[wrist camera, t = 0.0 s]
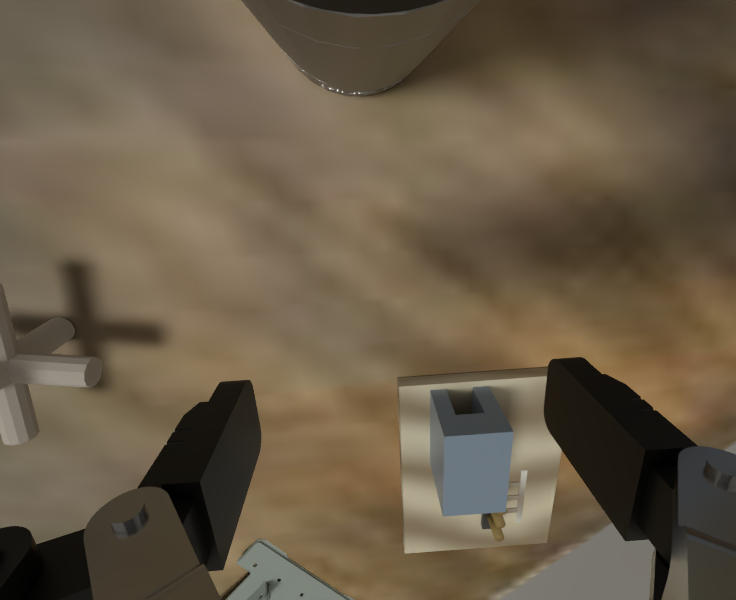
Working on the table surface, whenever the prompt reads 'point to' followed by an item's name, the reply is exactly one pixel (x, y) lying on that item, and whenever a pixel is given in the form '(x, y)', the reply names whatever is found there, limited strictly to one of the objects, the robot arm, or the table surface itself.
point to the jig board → (527, 469)
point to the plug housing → (470, 454)
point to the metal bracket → (263, 590)
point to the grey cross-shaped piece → (35, 371)
